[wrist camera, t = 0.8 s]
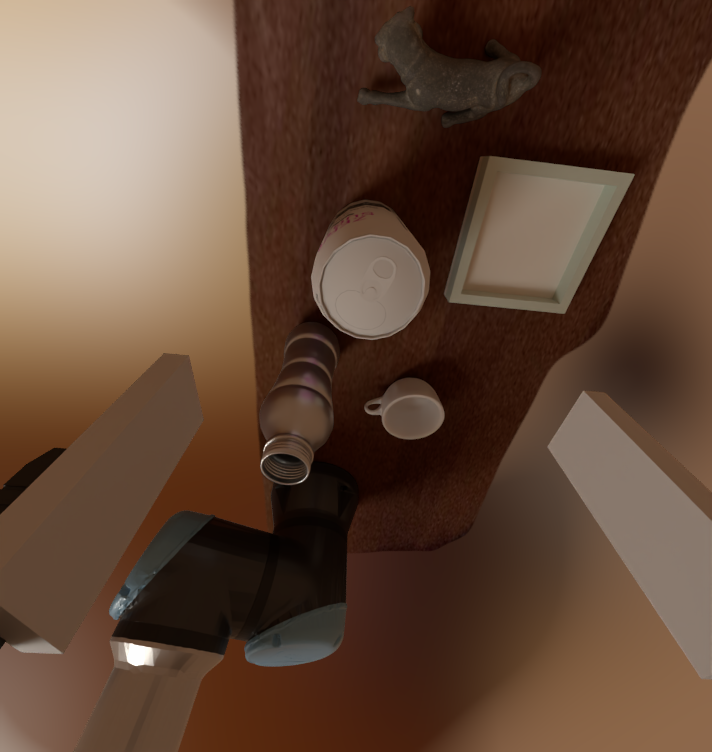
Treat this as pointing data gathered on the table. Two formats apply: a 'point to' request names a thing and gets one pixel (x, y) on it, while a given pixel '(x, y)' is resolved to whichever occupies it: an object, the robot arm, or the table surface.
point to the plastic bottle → (299, 404)
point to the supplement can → (370, 272)
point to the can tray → (531, 233)
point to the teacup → (409, 409)
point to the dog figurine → (447, 75)
